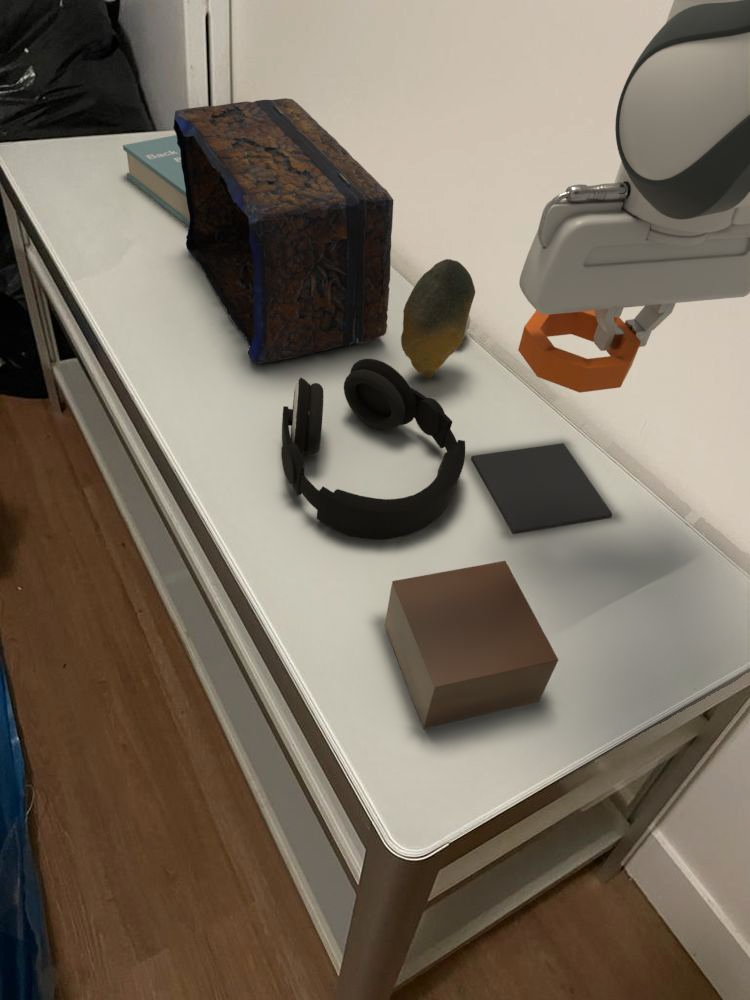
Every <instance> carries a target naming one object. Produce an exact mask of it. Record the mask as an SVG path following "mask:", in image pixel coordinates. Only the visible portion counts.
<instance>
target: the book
mask: <svg viewBox="0 0 750 1000" xmlns="http://www.w3.org/2000/svg"><path fill="white" fill-rule="evenodd" d="M122 148H123V149H122V150H123V151H124V152H126V158H127V166H128V167H127V168H128V172H127V173H126V178H127V179H128V180H129V181H130V182H132V184H134V185H135V186H137V187H138V188H139V190H140V189H141V191H143V192H144V193H145V194H147V195H148V196H149V197H151V198H152V199H153V200H154V201H156V203H158V204H160V205H161V206H162V207H163V208H164V209H166V210H167V211H169V213H171V214H172V215H173V216H174V217H176V218H177V219H179V220H180V221H181V222H182V223H183V224H184V225H186V226H187V227H189V224H190V214H189V210H188V205H187V198H186V189H185V182H184V175H183V170H182V165H181V153H180V148H179V146H178V144H177V135H176V134H175V135H170V136H169V135H168V136H164V137H157V138H154V139H153V138H152V139H149V140H143V141H142V140H141V141H138V142H137V141H136V142H132V143H126V144H122Z"/></svg>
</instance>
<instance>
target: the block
mask: <svg viewBox="0 0 750 1000" xmlns="http://www.w3.org/2000/svg"><path fill="white" fill-rule="evenodd" d="M390 587H391V588H390V593H389V598H388V604H387V609H386V616H385V622H384V627H385V630H386V633H387V635H388V638H389V641H390V643H391V647H392V648H393V651H394V654H395V658H396V659H397V662H398V665H399V667H400V670H401V673H402V675H403V678H404V681H405V684H406V686H407V689H408V691H409V694H410V697H411V700H412V702H413V705H414V707H415V710H416V713H417V716H418V718H419V721H420V724H421V726H422V729H428V728H433V727H437V726H442V725H445V724H449V723H453V722H457V721H458V722H459V721H463V720H467V719H470V718H471V719H472V718H474V717H480V716H484V715H487V714H488V715H489V714H492V713H496V712H500V711H504V710H509V709H513V708H517V707H521V706H525V705H529V704H535V703H538V702H540V701H541V698H542V697H543V695H544V693H545V689H546V688H547V686H548V684H549V681H550V679H551V677H552V674H553V673H554V670H555V668H556V666H557V664H558V662H559V658H558V656H557V655H556V652H555V650H554V648H553V647H552V645H551V643H550V642H549V639H548V637H547V636H546V634H545V632H544V630H543V628H542V626H541V625H540V623H539V621H538V619H537V617H536V615H535V613H534V611H533V610H532V607H531V605H530V604H529V602H528V600H527V598H526V596H525V595H524V593H523V591H522V589H521V587H520V585H519V583H518V581H517V579H516V577H515V576H514V574H513V572H512V570H511V569H510V566H509V565H508V563H507V561H506V560H502V561H496V562H490V563H484V564H480V565H473V566H469V567H463V568H458V569H451V570H447V571H441V572H435V573H429V574H424V575H418V576H413V577H408V578H403V579H397V580H392V581H391V586H390Z"/></svg>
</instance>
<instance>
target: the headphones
mask: <svg viewBox="0 0 750 1000" xmlns="http://www.w3.org/2000/svg"><path fill="white" fill-rule="evenodd" d="M343 393H344V397H345V400H346V403H347V404H348V406H349V408H350V409H351V410H352V412H353V413H354V414H355V415H356V416H357V418H359V420H361V421H362V422H363V423H364V424H366V425H367V426H369V427H372V428H374V429H377V430H383V431H389V430H390V431H391V430H393V429H394V430H395V429H396V428H398V427H399V426H404V425H407V424H410V423H411V422H413V420H414V419H415V422H416V425H417V426H418V427H419V429H420V430H421V431H422V432H423V433H424V434H425V435H427V436H429V437H432V439H433V440H434V442H435V443H436V444H437V445H438V448H439V449H445V450H446V452H444V454H443V456H442V459H441V462H440V464H439V467H438V470H437V475H436V477H435V479H433V481H432V482H431V483H430V484H429V485H428V486H426V487H425V488H423V489H422V490H421V491H419V492H416V493H415V494H412V495H409V496H405V497H399V498H389V499H388V498H375V497H370V496H364V495H359V494H355V493H352V492H349V491H345V490H344V489H343V490H342V489H339V488H336V489H335V490H334V491H332V490H330V489H329V488H328V487H327V488H326V487H325V486H322V487H320V489H317V488H316V486H315V485H314V484H312V482H310V480H309V479H308V478H307V476H305V466H304V461H303V455H307V456H309V457H314V456H316V455H317V454H318V453H319V451H320V447H321V440H322V431H323V430H322V429H323V416H324V388H323V386H322V385H321V384H320V383H318V382H315V383H312V384H311V383H309V382H308V381H307V380H306V379H305V378H303V377H299V378H298V379H297V381H296V384H295V387H294V391H293V400H292V401H293V402H292V408H289V406H283V408H282V419H281V443H282V444H281V450H280V454H281V463H282V468H283V472H284V476H285V478H286V481H287V483H288V484H290V485H291V486H292V488H293V490H294V492H295V495H296V497H299V496H301V495H302V496H303V497H304V498H305V499H306V501H307V502H308V503H309V504H310V505H311V506H312V507H313V508H314V509H316V520H317V521H319V522H320V523H322V524H324V525H325V526H327V527H330V528H331V529H333V530H336V531H338V532H340V533H342V534H345V535H348V536H352V537H355V538H362V539H370V540H390V539H397V538H402V537H406V536H409V535H412V534H415V533H417V532H419V531H420V530H421V531H422V530H423V529H425V528H426V527H428V526H430V525H431V524H433V523H434V522H435V521H437V519H439V518H440V517H441V516H442V515H443V513H444V512H445V511H446V510H447V508H448V506H449V504H450V502H451V499H452V497H453V496H454V495H453V494H454V492H455V489H456V487H457V484H458V482H459V480H460V477H461V474H462V471H463V469H464V465H465V459H466V440H462V439H457V438H456V437H455V434H454V433H453V431H452V430H451V428H452V425H453V420H452V419H451V418H450V417H449V416H448V415H447V414H446V413H445V411H444V409H443V407H442V405H441V404H440V402H439V401H437V400H436V399H435V398H432V397H427V396H425V395H424V394H423V393H421V392H420V391H418V390H417V389H415V388H413V387H412V386H410V384H409V383H408V381H407V380H406V378H405V377H404V376H403V375H402V374H401V373H400V372H399V371H398V370H397V369H395V368H394V367H392V366H391V365H389V364H387V363H386V362H384V361H381V360H378V359H374V358H361V359H359V360H358V361H355V363H354V364H352V367H351V369H350V371H349V374H348V375H347V376H346V377H345V380H344V382H343Z"/></svg>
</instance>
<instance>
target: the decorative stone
mask: <svg viewBox="0 0 750 1000" xmlns="http://www.w3.org/2000/svg"><path fill="white" fill-rule="evenodd" d="M475 295H476V288H475V285H474V281H473V277H472V275H471V274H470V273H469V271H468V269H467V268H466V267H465V266H464V265H463V264H462V263H461V262H459V261H458V260H454V259H450V258H446V259H443V260H441V261H438V262H437V263H435V264H434V265H433V266H432V267H431V268H430V269H428V270H427V271H426V272H425V273H423V275H422V276H421V277H420V278H419V279H418V280H417V282H416V283H415V285H414V287H413V288H412V291H411V292H410V293H409V296H408V298H407V300H406V302H405V304H404V308H403V313H402V314H403V315H402V317H403V318H402V320H403V321H402V333H401V336H400V344H401V348H402V351H403V352H404V355H405V356H406V357H407V358H408V359H409V360H410V363H411V365H412V367H413V368H414V370H415V371H416V372H418V373H421V374H422V378H427V379H429V378H430V379H431V378H432V377H433V376H434V375H435V373H436V372H437V371H438V370H439V369H440V368H441V367H442V366H443V365H444V364H445V362H446V361H447V360H448V358H449V357H450V356H452V355H453V354H454V353H455V351H456V350H457V349H458V348H459V347H460V345H462V343H463V341H464V339H465V337H464V333H465V328H466V324H467V319H468V316H470V313H471V308H472V305H473V302H474V298H475Z"/></svg>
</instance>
